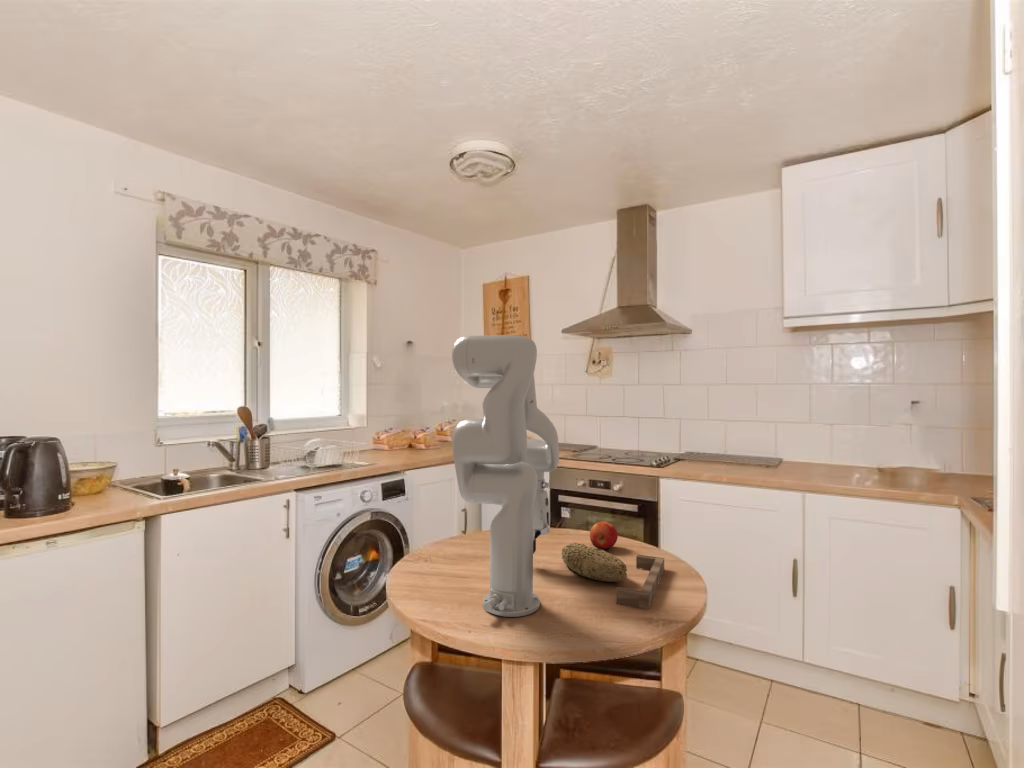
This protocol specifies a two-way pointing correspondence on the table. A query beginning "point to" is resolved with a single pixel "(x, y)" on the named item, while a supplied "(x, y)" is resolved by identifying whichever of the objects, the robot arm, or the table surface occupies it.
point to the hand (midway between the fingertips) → (529, 554)
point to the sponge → (594, 563)
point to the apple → (603, 535)
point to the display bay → (648, 590)
